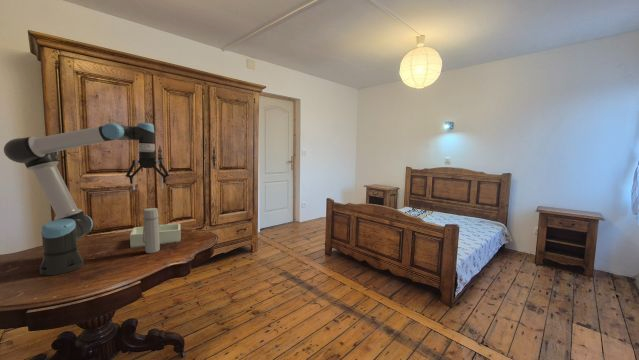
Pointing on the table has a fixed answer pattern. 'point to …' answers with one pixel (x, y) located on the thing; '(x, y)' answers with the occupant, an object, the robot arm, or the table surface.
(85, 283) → the table surface
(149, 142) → the robot arm
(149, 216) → the water bottle
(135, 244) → the pale green storage bin
